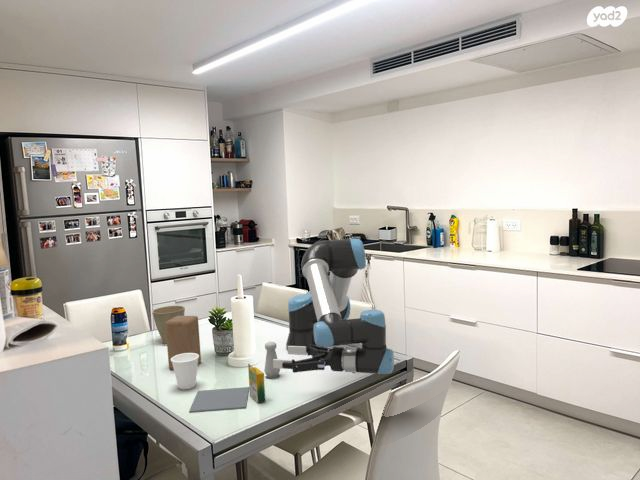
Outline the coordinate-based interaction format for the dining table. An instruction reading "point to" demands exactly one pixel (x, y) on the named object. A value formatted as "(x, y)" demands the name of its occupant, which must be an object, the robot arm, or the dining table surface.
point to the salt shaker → (271, 360)
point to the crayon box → (256, 384)
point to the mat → (220, 399)
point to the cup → (185, 369)
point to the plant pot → (166, 318)
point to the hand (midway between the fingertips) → (281, 356)
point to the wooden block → (182, 337)
